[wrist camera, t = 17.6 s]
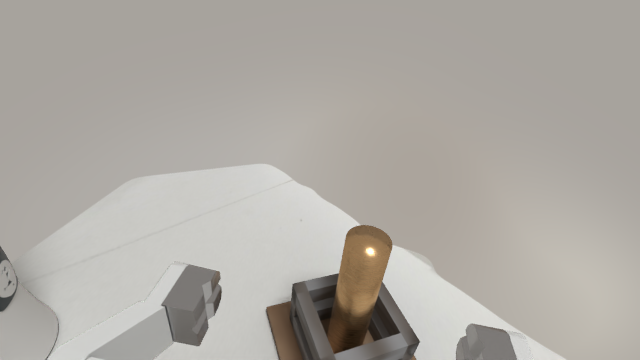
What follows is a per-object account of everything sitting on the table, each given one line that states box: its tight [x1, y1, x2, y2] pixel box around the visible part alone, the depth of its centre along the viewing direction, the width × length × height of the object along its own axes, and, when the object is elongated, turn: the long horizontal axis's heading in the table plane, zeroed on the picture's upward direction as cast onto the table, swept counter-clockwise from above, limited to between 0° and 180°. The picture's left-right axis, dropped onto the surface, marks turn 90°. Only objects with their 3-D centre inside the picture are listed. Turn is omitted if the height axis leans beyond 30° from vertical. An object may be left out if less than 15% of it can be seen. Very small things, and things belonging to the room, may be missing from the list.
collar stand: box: [267, 273, 420, 360], centre depth 41 cm, size 16×16×8 cm
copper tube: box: [327, 225, 392, 354], centre depth 37 cm, size 4×4×18 cm
